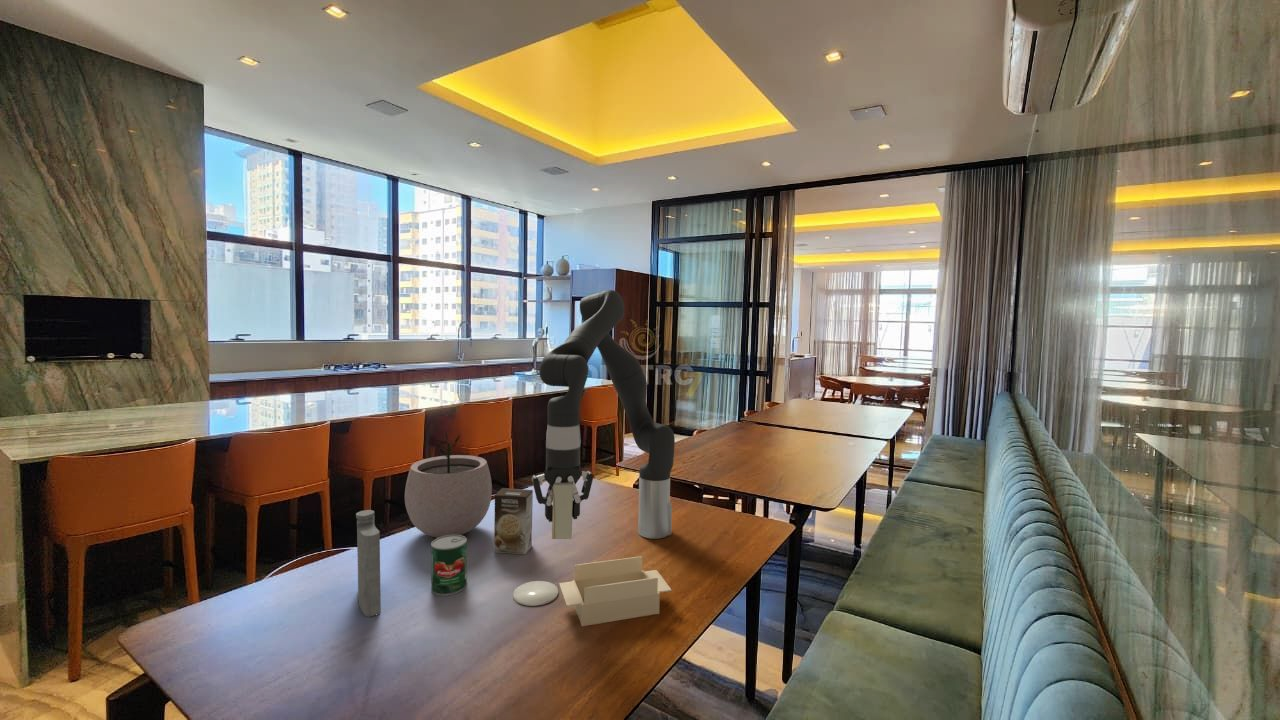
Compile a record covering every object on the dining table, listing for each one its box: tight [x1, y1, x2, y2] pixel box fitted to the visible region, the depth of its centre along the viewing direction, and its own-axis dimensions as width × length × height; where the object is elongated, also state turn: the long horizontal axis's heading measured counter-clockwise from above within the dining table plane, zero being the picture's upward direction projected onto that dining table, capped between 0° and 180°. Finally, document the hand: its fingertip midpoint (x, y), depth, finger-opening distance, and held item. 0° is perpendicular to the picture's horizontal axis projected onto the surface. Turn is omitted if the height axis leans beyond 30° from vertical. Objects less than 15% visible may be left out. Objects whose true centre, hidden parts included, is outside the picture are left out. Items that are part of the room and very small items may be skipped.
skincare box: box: [551, 482, 574, 540], centre depth 116 cm, size 6×4×12 cm
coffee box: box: [493, 487, 534, 555], centre depth 142 cm, size 9×6×16 cm
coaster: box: [513, 580, 559, 607], centre depth 119 cm, size 10×10×1 cm
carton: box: [558, 555, 672, 627], centre depth 114 cm, size 23×11×8 cm, turn 108°
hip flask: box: [355, 509, 382, 617], centre depth 115 cm, size 16×4×20 cm, turn 31°
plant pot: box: [404, 432, 493, 538], centre depth 152 cm, size 24×24×30 cm
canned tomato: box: [430, 535, 468, 596], centre depth 121 cm, size 8×8×11 cm
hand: (562, 519), depth 116 cm, fingers closed on skincare box, 5 cm apart
